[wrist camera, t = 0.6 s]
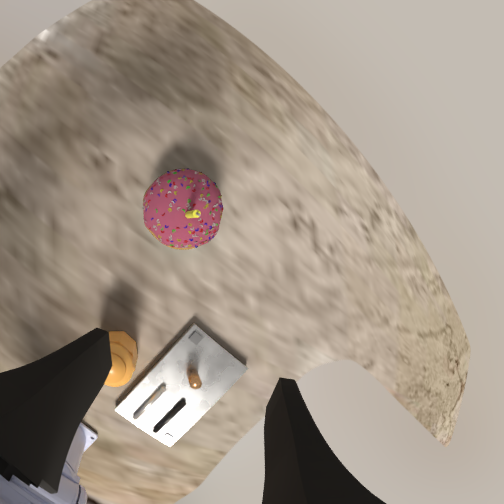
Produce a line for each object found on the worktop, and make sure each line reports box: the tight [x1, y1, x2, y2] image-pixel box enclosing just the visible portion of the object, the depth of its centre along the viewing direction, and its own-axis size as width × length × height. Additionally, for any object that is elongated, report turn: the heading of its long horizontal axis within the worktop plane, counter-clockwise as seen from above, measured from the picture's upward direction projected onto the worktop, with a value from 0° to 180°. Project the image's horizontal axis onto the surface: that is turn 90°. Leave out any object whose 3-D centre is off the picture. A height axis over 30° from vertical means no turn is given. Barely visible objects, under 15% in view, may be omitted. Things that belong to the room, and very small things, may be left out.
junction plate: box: [115, 323, 248, 446], centre depth 29 cm, size 16×9×4 cm, turn 136°
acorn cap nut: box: [104, 331, 138, 387], centre depth 26 cm, size 5×5×7 cm
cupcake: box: [143, 168, 223, 249], centre depth 26 cm, size 9×8×12 cm
